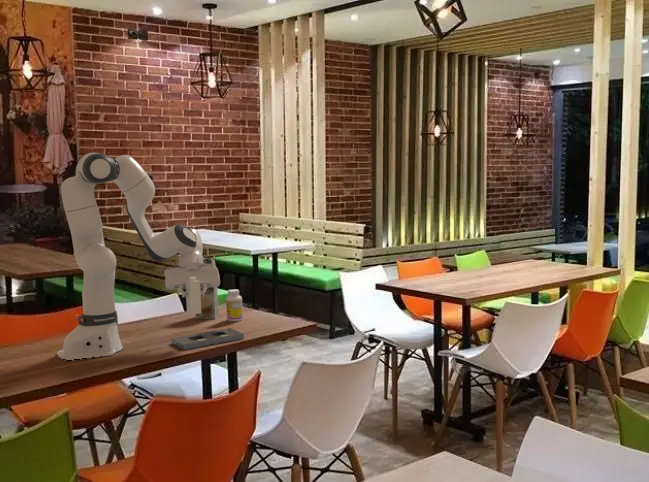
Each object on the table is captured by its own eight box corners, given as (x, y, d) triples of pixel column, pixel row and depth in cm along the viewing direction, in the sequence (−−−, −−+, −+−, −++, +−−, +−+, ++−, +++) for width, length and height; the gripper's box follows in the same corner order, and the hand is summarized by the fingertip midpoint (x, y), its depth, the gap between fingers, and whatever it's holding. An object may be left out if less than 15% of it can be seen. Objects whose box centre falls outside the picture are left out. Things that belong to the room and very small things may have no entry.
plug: (191, 314, 259) (189, 278, 257) (186, 312, 262) (185, 277, 261) (201, 313, 261) (199, 277, 260) (197, 311, 264) (195, 276, 263)
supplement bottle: (225, 319, 301) (224, 289, 300) (241, 317, 303) (239, 288, 302) (228, 322, 295) (226, 292, 294) (244, 320, 297) (242, 290, 295)
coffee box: (194, 319, 303) (192, 282, 302) (198, 316, 310) (196, 280, 308) (215, 319, 303) (213, 282, 301) (219, 315, 309) (217, 279, 307)
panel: (184, 350, 254) (183, 343, 254) (171, 343, 264) (171, 337, 264) (243, 338, 267) (243, 332, 267) (230, 332, 277) (229, 327, 277)
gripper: (163, 262, 264) (164, 292, 256) (218, 260, 268) (221, 289, 260) (164, 272, 269) (164, 302, 261) (218, 270, 273) (220, 299, 265)
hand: (193, 296), depth 260 cm, fingers closed on plug, 5 cm apart
